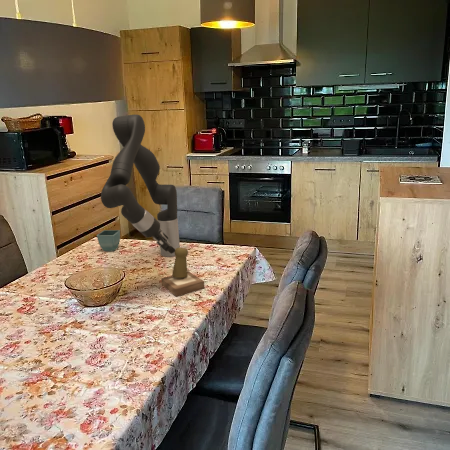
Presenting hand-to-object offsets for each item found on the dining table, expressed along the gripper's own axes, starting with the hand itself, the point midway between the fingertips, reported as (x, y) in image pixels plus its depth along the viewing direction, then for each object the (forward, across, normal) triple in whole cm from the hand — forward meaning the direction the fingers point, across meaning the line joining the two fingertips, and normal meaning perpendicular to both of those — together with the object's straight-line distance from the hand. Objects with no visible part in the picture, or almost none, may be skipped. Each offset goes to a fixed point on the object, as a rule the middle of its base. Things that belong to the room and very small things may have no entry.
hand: (169, 245), depth 173 cm
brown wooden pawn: (+8, -9, +4) cm, 13 cm away
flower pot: (+17, +45, +31) cm, 58 cm away
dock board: (+10, -13, +6) cm, 17 cm away
